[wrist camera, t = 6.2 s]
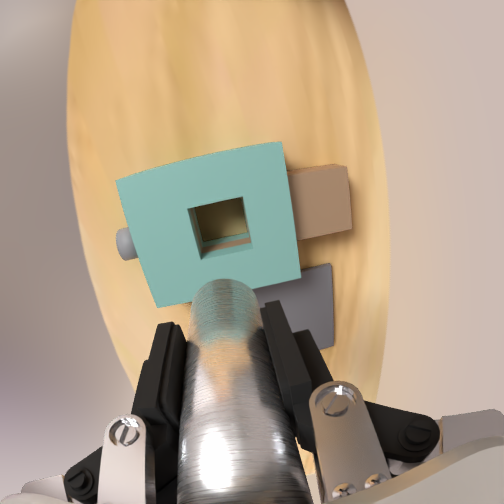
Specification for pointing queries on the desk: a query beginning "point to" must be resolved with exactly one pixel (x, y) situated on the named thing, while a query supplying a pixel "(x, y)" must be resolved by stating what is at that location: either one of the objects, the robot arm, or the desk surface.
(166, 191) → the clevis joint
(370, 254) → the desk surface
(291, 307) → the rubber mat
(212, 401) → the steel pin
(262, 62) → the desk surface
